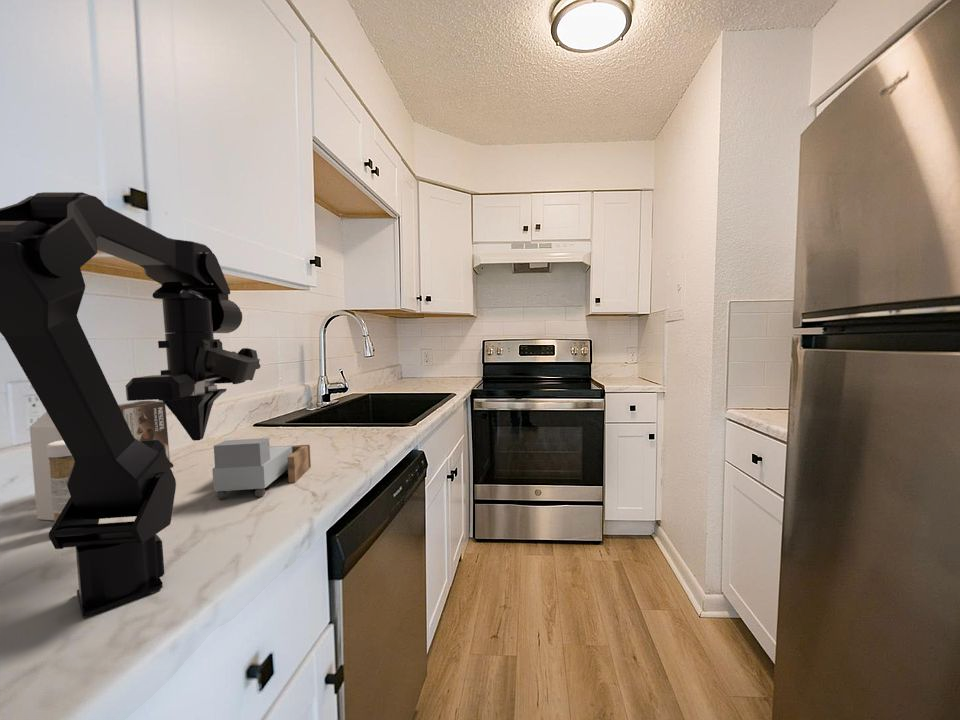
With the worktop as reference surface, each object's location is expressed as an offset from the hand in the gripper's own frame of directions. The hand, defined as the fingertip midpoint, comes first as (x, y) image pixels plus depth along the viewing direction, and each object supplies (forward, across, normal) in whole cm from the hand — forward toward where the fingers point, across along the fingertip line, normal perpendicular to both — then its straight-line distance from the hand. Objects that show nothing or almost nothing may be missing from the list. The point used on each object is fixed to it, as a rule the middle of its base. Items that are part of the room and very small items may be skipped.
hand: (197, 439), depth 61 cm
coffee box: (+14, +24, +25) cm, 37 cm away
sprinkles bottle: (+13, +3, +20) cm, 24 cm away
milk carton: (+13, +10, +25) cm, 30 cm away
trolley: (+13, +18, 0) cm, 22 cm away
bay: (+13, +22, 0) cm, 26 cm away
